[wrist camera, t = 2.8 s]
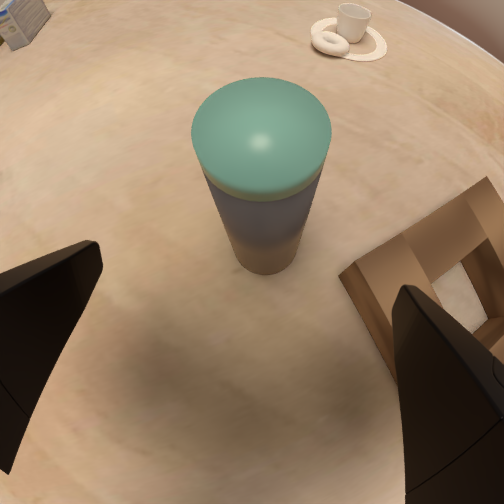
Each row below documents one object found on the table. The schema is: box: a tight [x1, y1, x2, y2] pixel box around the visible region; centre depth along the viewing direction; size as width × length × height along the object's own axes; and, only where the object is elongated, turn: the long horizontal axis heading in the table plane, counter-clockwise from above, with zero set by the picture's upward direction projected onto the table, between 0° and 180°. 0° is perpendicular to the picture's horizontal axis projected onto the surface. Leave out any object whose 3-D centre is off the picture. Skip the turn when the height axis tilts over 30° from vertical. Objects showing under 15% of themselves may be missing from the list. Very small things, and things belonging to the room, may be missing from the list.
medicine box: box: [0, 0, 51, 50], centre depth 27 cm, size 8×4×9 cm, turn 176°
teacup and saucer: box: [311, 3, 387, 61], centre depth 24 cm, size 9×8×4 cm
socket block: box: [339, 176, 504, 386], centre depth 16 cm, size 12×12×4 cm
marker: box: [191, 77, 332, 275], centre depth 14 cm, size 4×4×12 cm
